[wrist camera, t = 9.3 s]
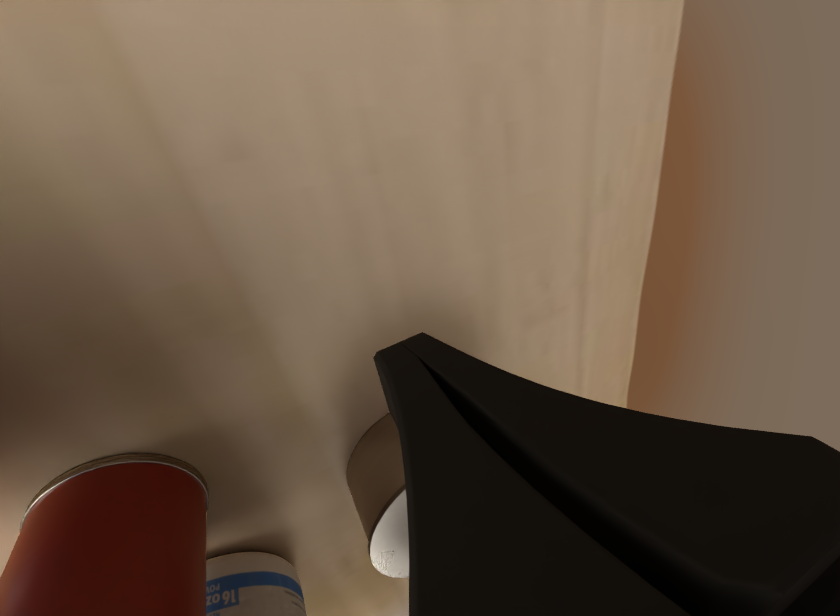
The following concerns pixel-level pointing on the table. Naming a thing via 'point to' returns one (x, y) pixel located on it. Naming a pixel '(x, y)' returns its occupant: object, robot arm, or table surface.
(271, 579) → the supplement tub
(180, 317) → the table surface
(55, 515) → the tin can
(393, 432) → the steel pot
